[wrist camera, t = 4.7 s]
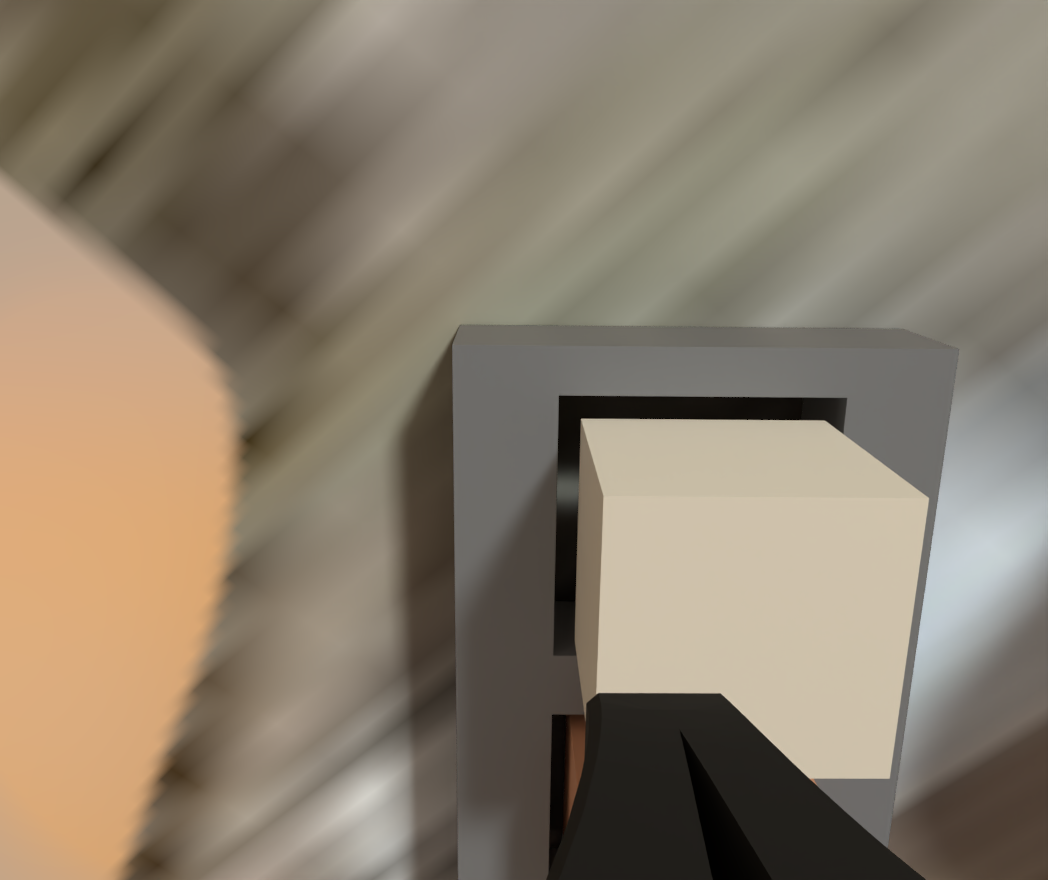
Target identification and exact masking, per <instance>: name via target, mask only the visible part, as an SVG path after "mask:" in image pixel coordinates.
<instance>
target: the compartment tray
mask: <svg viewBox="0 0 1048 880" xmlns="http://www.w3.org/2000/svg"><path fill="white" fill-rule="evenodd" d="M958 355H959V349H957V348H955V347H952V346H949V345H946V344H943V343H941V342H938V341H935V340H932V339H930V338H927V337H924V336H921V335H919V334H916V333H913V332H910V331H907V330H905V329H866V328H756V327H647V326H537V325H460V326H459V329H458V331H457V334H456V336H455V339H454V342H453V344H452V370H453V461H454V552H455V643H456V734H457V825H458V880H546V879H547V876H548V874H549V871H550V869H551V866H552V864H553V861H554V858H555V856H556V853H557V851H558V848H549V824H550V778H551V732H552V714H568V715H585V714H584V706H583V699H582V691H581V684H580V677H579V669H578V662H577V654H576V647H575V607H576V601H554V595H555V549H556V504H557V458H558V412H559V395H561V396H686V397H803V403H802V413H801V420H821V421H826V422H828V423H829V424H830V425H832V426H833V427H834V428H836V429H837V430H838V431H840V432H841V433H842V434H844V435H845V436H846V437H848V438H849V439H850V440H852V441H853V442H854V443H856V444H857V445H858V446H860V447H861V448H862V449H864V450H865V451H866V452H868V453H869V454H871V455H872V456H873V457H875V458H876V459H877V460H879V461H880V462H881V463H883V464H884V465H885V466H887V467H888V468H889V469H891V470H892V471H893V472H895V473H896V474H897V475H899V476H900V477H901V478H903V479H904V480H905V481H907V482H908V483H909V484H911V485H912V486H913V487H915V488H916V489H917V490H919V491H920V492H922V493H923V494H924V495H926V496H927V497H928V498H929V503H928V510H927V517H926V524H925V531H924V539H923V546H922V553H921V560H920V567H919V574H918V581H917V588H916V595H915V602H914V609H913V617H912V624H911V631H910V638H909V645H908V652H907V659H906V666H905V673H904V680H903V687H902V695H901V702H900V709H899V716H898V723H897V730H896V737H895V744H894V751H893V758H892V765H891V773H890V779H814V780H815V782H816V784H817V786H818V787H819V788H820V789H821V790H822V791H823V792H824V793H826V794H827V795H828V796H829V797H830V798H831V799H832V800H833V801H834V802H835V803H836V804H838V805H839V806H840V807H841V808H842V809H843V810H844V811H845V812H846V813H848V814H849V815H850V816H851V817H852V818H853V819H854V820H855V821H857V822H858V823H859V824H860V825H861V826H862V827H863V828H864V829H866V830H867V831H868V832H869V833H870V834H871V835H873V836H874V837H875V838H876V839H877V840H878V841H880V842H881V843H882V844H883V845H884V846H885V847H887V848H888V842H889V835H890V828H891V821H892V814H893V807H894V800H895V793H896V786H897V779H898V772H899V765H900V759H901V752H902V745H903V738H904V731H905V724H906V717H907V710H908V703H909V696H910V689H911V682H912V675H913V668H914V661H915V654H916V647H917V640H918V633H919V626H920V619H921V613H922V606H923V599H924V592H925V585H926V578H927V571H928V564H929V557H930V550H931V543H932V536H933V529H934V522H935V515H936V508H937V501H938V494H939V487H940V480H941V473H942V466H943V460H944V453H945V446H946V439H947V432H948V425H949V418H950V411H951V404H952V397H953V390H954V383H955V376H956V369H957V362H958Z"/></svg>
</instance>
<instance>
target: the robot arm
mask: <svg viewBox="0 0 1048 880" xmlns="http://www.w3.org/2000/svg"><path fill="white" fill-rule="evenodd" d="M546 880H926V879H924V878H923V877H922V876H921V875H919V874H918V873H917V872H916V871H914V870H913V869H912V868H911V867H910V866H908V865H907V864H906V863H905V862H903V861H902V860H901V859H900V858H898V857H897V856H896V855H895V854H894V853H892V852H891V851H890V850H889V849H888V848H887V847H885V846H884V845H883V844H882V843H881V842H880V841H878V840H877V839H876V838H875V837H874V836H873V835H871V834H870V833H869V832H868V831H867V830H866V829H864V828H863V827H862V826H861V825H860V824H859V823H858V822H857V821H855V820H854V819H853V818H852V817H851V816H850V815H849V814H848V813H846V812H845V811H844V810H843V809H842V808H841V807H840V806H839V805H838V804H836V803H835V802H834V801H833V800H832V799H831V798H830V797H829V796H828V795H827V794H826V793H824V792H823V791H822V790H821V789H820V788H819V787H818V786H817V785H816V784H815V783H814V782H813V781H811V780H810V779H809V778H808V777H807V776H806V775H805V774H804V773H803V772H802V771H801V770H800V769H799V768H798V767H797V766H796V765H795V764H793V763H792V762H791V761H790V760H789V759H788V758H787V757H786V756H785V755H784V754H783V753H782V752H781V751H780V750H779V749H778V748H777V747H776V746H775V745H774V744H773V743H772V742H771V741H770V740H769V739H768V738H767V737H766V736H764V735H763V734H762V733H761V732H760V731H759V730H758V729H757V728H756V727H755V726H754V725H753V724H752V723H751V722H750V721H749V720H748V719H747V718H746V717H745V716H744V715H743V714H742V713H741V712H740V711H739V710H738V709H737V708H736V707H735V706H734V705H733V704H732V703H731V702H730V701H728V700H727V699H726V698H725V697H724V696H723V695H722V694H721V693H598V694H596V695H595V696H594V697H593V698H592V699H591V700H589V701H588V702H587V703H586V726H585V756H584V764H583V769H582V774H581V778H580V781H579V785H578V788H577V792H576V795H575V799H574V802H573V806H572V809H571V813H570V816H569V819H568V823H567V826H566V829H565V832H564V835H563V838H562V840H561V843H560V846H559V848H558V851H557V853H556V856H555V858H554V861H553V864H552V866H551V869H550V871H549V874H548V876H547V879H546Z"/></svg>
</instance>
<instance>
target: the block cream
mask: <svg viewBox="0 0 1048 880" xmlns="http://www.w3.org/2000/svg"><path fill="white" fill-rule="evenodd" d="M928 503H929V498H928V497H927V496H926V495H924V494H923V493H922V492H920V491H919V490H917V489H916V488H915V487H913V486H912V485H911V484H909V483H908V482H907V481H905V480H904V479H903V478H901V477H900V476H899V475H897V474H896V473H895V472H893V471H892V470H891V469H889V468H888V467H887V466H885V465H884V464H883V463H881V462H880V461H879V460H877V459H876V458H875V457H873V456H872V455H871V454H869V453H868V452H866V451H865V450H864V449H862V448H861V447H860V446H858V445H857V444H856V443H854V442H853V441H852V440H850V439H849V438H848V437H846V436H845V435H844V434H842V433H841V432H840V431H838V430H837V429H836V428H834V427H833V426H832V425H830V424H829V423H828V422H826V421H821V420H691V419H581V434H580V468H579V503H578V537H577V572H576V607H575V647H576V654H577V662H578V669H579V677H580V684H581V691H582V699H583V706H584V714H585V721H586V703H587V702H588V701H589V700H591V699H592V698H593V697H594V696H595V695H596V694H598V693H721V694H722V695H723V696H724V697H725V698H726V699H727V700H728V701H730V702H731V703H732V704H733V705H734V706H735V707H736V708H737V709H738V710H739V711H740V712H741V713H742V714H743V715H744V716H745V717H746V718H747V719H748V720H749V721H750V722H751V723H752V724H753V725H754V726H755V727H756V728H757V729H758V730H759V731H760V732H761V733H762V734H763V735H764V736H766V737H767V738H768V739H769V740H770V741H771V742H772V743H773V744H774V745H775V746H776V747H777V748H778V749H779V750H780V751H781V752H782V753H783V754H784V755H785V756H786V757H787V758H788V759H789V760H790V761H791V762H792V763H793V764H795V765H796V766H797V767H798V768H799V769H800V770H801V771H802V772H803V773H804V774H805V775H806V776H807V777H808V778H809V779H890V773H891V765H892V758H893V751H894V744H895V737H896V730H897V723H898V716H899V709H900V702H901V695H902V687H903V680H904V673H905V666H906V659H907V652H908V645H909V638H910V631H911V624H912V617H913V609H914V602H915V595H916V588H917V581H918V574H919V567H920V560H921V553H922V546H923V539H924V531H925V524H926V517H927V510H928Z"/></svg>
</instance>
